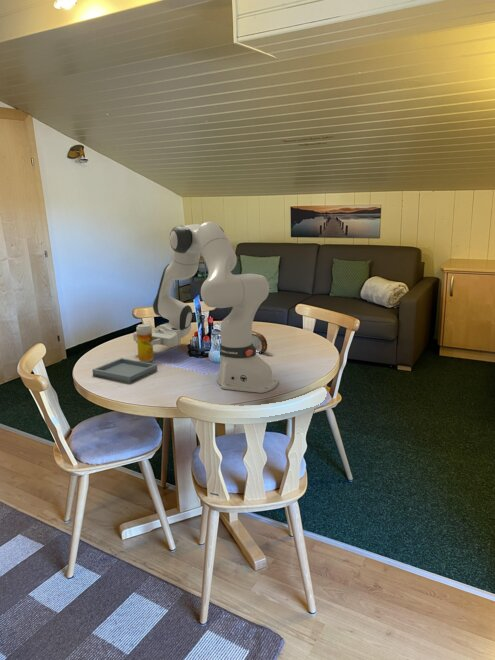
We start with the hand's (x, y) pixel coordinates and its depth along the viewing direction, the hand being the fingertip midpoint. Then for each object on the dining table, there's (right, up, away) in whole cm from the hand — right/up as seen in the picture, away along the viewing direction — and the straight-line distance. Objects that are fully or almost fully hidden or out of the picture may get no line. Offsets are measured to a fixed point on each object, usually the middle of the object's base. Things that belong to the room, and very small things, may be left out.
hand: (143, 342), depth 197 cm
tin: (+46, -4, +16) cm, 49 cm away
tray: (-4, -12, -12) cm, 17 cm away
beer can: (0, -8, +3) cm, 8 cm away
